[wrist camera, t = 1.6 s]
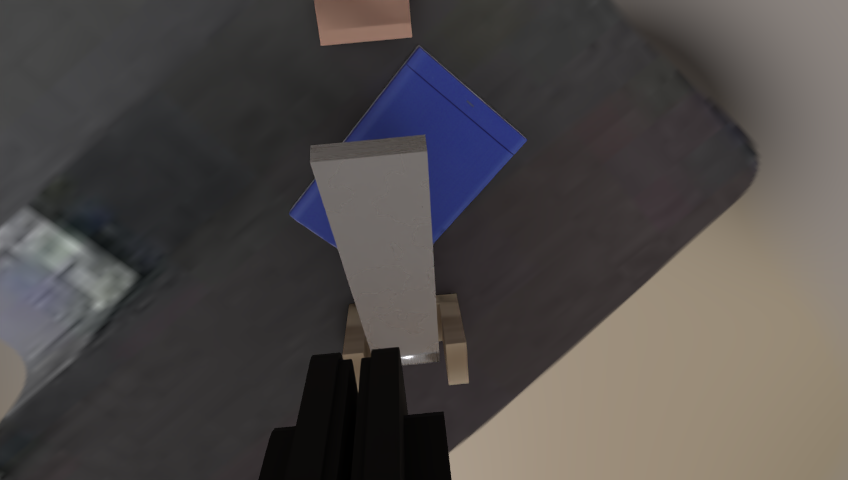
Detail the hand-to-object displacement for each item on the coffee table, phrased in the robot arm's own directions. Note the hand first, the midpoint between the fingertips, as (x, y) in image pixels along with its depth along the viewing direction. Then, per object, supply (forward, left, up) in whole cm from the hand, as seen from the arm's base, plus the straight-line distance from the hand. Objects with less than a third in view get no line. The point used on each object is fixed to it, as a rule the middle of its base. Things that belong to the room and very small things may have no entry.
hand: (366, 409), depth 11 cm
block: (+7, 0, -23) cm, 24 cm away
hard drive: (-3, -1, -24) cm, 24 cm away
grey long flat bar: (-5, 0, -15) cm, 16 cm away
